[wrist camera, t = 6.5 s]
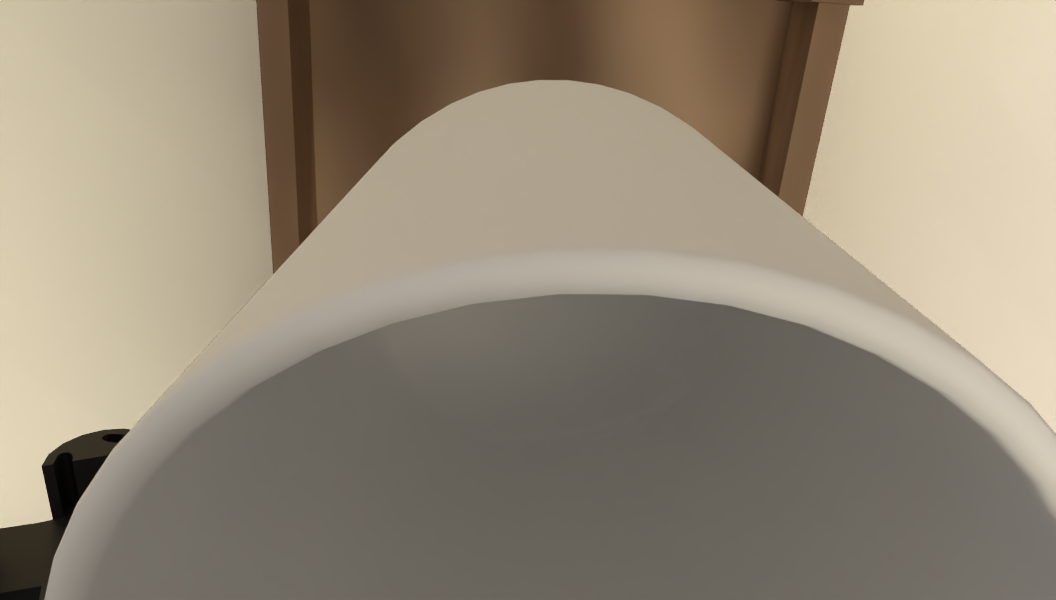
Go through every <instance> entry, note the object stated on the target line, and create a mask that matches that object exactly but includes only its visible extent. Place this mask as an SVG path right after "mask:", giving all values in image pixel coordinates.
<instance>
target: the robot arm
mask: <svg viewBox="0 0 1056 600" xmlns="http://www.w3.org/2000/svg"><path fill="white" fill-rule="evenodd" d="M129 431H130V430H129V429H112V430H102V431H97V432H93V433H89V434H85V435H82V436H79V437H77V438H75V439H72V440H70V441H68V442H66V443H63V444H62V445H61V446H59V447H58V448H57V449H55V450H54V451H53V452H51V453H50V454H49V455H48V456H47V458H46V460H45V461H44V463H43V465H42V470H43V475H44V479H45V484H46V489H47V493H48V498H49V503H50V507H51V512H52V517H53V520H50V521H45V522H40V523H35V524H28V525H21V526H15V527H8V528H1V529H0V600H44V599H45V594H46V590H47V585H48V581H49V576H50V572H51V567H52V563H53V558H54V556H55V553H56V551H57V549H58V546H59V544H60V542H61V540H62V537H63V535H64V533H65V530H66V528H67V526H68V523H69V521H70V519H71V516H72V514H73V512H74V509H75V507H76V505H77V503H78V501H79V500H80V498H81V496H82V495H83V493H84V492H85V490H86V489H87V487H88V486H89V484H90V483H91V481H92V480H93V478H94V477H95V475H96V474H97V472H98V471H99V469H100V468H101V466H102V465H103V463H104V462H105V460H106V459H107V457H108V456H109V454H110V453H111V451H112V450H113V448H114V447H115V446H116V445H117V444H118V443H119V442H120V441H121V440H122V439H123V437H124V436H125V435H126V434H127V433H128V432H129Z"/></svg>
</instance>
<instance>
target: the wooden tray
mask: <svg viewBox="0 0 1056 600" xmlns="http://www.w3.org/2000/svg"><path fill="white" fill-rule="evenodd" d="M256 2H257V19H258V35H259V51H260V67H261V83H262V99H263V115H264V131H265V148H266V164H267V180H268V196H269V212H270V228H271V244H272V261H273V274H274V273H275V272H276V271H277V270H278V269H279V268H280V267H281V265H282V264H283V263H284V262H285V261H286V260H287V259H288V258H289V257H290V256H291V255H292V254H293V252H294V251H295V250H296V249H297V248H298V247H299V246H300V245H301V244H302V243H303V242H304V240H305V239H306V238H307V237H308V236H309V235H310V234H311V233H312V232H313V231H314V230H315V228H316V227H317V226H318V225H319V224H320V223H321V222H322V221H323V220H324V219H325V218H326V217H327V215H328V214H329V213H330V212H331V211H332V210H333V209H334V208H335V207H336V206H337V205H338V203H339V202H340V201H341V200H342V199H343V198H344V197H345V196H346V195H347V194H348V193H349V191H350V190H351V189H352V188H353V187H354V186H355V185H356V184H357V183H358V182H359V181H360V180H361V178H362V177H363V176H364V175H365V174H366V173H367V172H368V171H369V170H370V169H371V168H372V166H373V165H374V164H375V163H376V162H377V161H378V160H379V159H380V158H381V157H382V156H383V155H384V154H385V153H386V152H387V150H388V149H389V148H390V147H391V146H392V145H393V144H394V143H395V142H396V141H397V140H399V139H400V138H401V137H402V136H404V135H405V134H406V133H407V132H409V131H410V130H411V129H412V128H414V127H415V126H416V125H417V124H419V123H420V122H421V121H423V120H425V119H426V118H428V117H430V116H431V115H433V114H435V113H436V112H438V111H440V110H441V109H443V108H445V107H446V106H448V105H450V104H452V103H454V102H456V101H459V100H461V99H463V98H466V97H468V96H470V95H473V94H475V93H477V92H480V91H484V90H488V89H491V88H495V87H499V86H502V85H506V84H511V83H519V82H527V81H535V80H571V81H578V82H585V83H592V84H599V85H603V86H606V87H610V88H613V89H617V90H620V91H624V92H627V93H630V94H633V95H635V96H637V97H639V98H641V99H644V100H646V101H648V102H650V103H653V104H655V105H657V106H659V107H661V108H663V109H665V110H666V111H668V112H669V113H671V114H673V115H674V116H676V117H677V118H679V119H680V120H682V121H684V122H685V123H687V124H688V125H690V126H691V127H693V128H694V129H695V130H696V131H698V132H699V133H700V134H701V135H703V136H704V137H705V138H706V139H707V140H709V141H710V142H711V143H712V144H714V145H715V146H716V147H717V148H719V149H720V150H721V151H722V152H723V153H725V154H726V155H727V156H728V157H730V158H731V159H732V160H733V161H735V162H736V163H737V164H738V165H739V166H741V167H742V168H743V169H744V170H746V171H747V172H748V173H749V174H751V175H752V176H753V177H754V178H755V179H757V180H758V181H759V182H760V183H762V184H763V185H764V186H765V187H767V188H768V189H769V190H770V191H771V192H773V193H774V194H775V195H776V196H778V197H779V198H780V199H781V200H783V201H784V202H785V203H786V204H787V205H789V206H790V207H791V208H792V209H794V210H795V211H796V212H797V213H799V214H800V215H801V216H803V211H804V207H805V203H806V198H807V194H808V189H809V185H810V180H811V176H812V171H813V167H814V162H815V158H816V153H817V149H818V145H819V140H820V136H821V131H822V127H823V122H824V118H825V113H826V109H827V104H828V100H829V95H830V91H831V87H832V82H833V78H834V73H835V69H836V64H837V60H838V55H839V51H840V46H841V42H842V37H843V33H844V29H845V24H846V20H847V15H848V11H849V6H850V5H863V3H864V0H256Z"/></svg>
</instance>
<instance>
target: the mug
mask: <svg viewBox="0 0 1056 600" xmlns="http://www.w3.org/2000/svg"><path fill="white" fill-rule="evenodd" d="M44 600H1056V434H1055V432H1054V431H1053V430H1052V429H1051V428H1050V427H1049V425H1048V424H1047V423H1046V422H1045V421H1044V419H1043V418H1042V417H1041V416H1040V415H1039V413H1038V412H1037V411H1036V410H1035V409H1034V407H1033V406H1032V405H1031V404H1030V403H1029V402H1028V401H1027V400H1025V399H1024V398H1023V397H1022V396H1021V395H1020V394H1018V393H1017V392H1016V391H1015V390H1014V389H1012V388H1011V387H1010V386H1009V385H1008V384H1007V383H1005V382H1004V381H1003V380H1002V379H1001V378H999V377H998V376H997V375H996V374H995V373H994V372H992V371H991V370H990V369H989V368H988V367H986V366H985V365H984V364H983V363H982V362H981V361H979V360H978V359H977V358H976V357H975V356H973V355H972V354H971V353H970V352H969V351H967V350H966V349H965V348H964V347H962V346H961V345H960V344H959V343H957V342H956V341H955V340H954V339H953V338H951V337H950V336H949V335H948V334H946V333H945V332H944V331H943V330H941V329H940V328H939V327H938V326H937V325H935V324H934V323H933V322H932V321H930V320H929V319H928V318H927V317H925V316H924V315H923V314H922V313H920V312H919V311H918V310H917V309H916V308H914V307H913V306H912V305H911V304H909V303H908V302H907V301H906V300H904V299H903V298H902V297H901V296H900V295H898V294H897V293H896V292H895V291H893V290H892V289H891V288H890V287H888V286H887V285H886V284H885V283H884V282H882V281H881V280H880V279H879V278H877V277H876V276H875V275H874V274H872V273H871V272H870V271H869V270H868V269H866V268H865V267H864V266H863V265H861V264H860V263H859V262H858V261H856V260H855V259H854V258H853V257H852V256H850V255H849V254H848V253H847V252H845V251H844V250H843V249H842V248H840V247H839V246H838V245H837V244H836V243H834V242H833V241H832V240H831V239H829V238H828V237H827V236H826V235H824V234H823V233H822V232H821V231H820V230H818V229H817V228H816V227H815V226H813V225H812V224H811V223H810V222H808V221H807V220H806V219H805V218H803V217H802V216H801V215H800V214H799V213H797V212H796V211H795V210H794V209H792V208H791V207H790V206H789V205H787V204H786V203H785V202H784V201H783V200H781V199H780V198H779V197H778V196H776V195H775V194H774V193H773V192H771V191H770V190H769V189H768V188H767V187H765V186H764V185H763V184H762V183H760V182H759V181H758V180H757V179H755V178H754V177H753V176H752V175H751V174H749V173H748V172H747V171H746V170H744V169H743V168H742V167H741V166H739V165H738V164H737V163H736V162H735V161H733V160H732V159H731V158H730V157H728V156H727V155H726V154H725V153H723V152H722V151H721V150H720V149H719V148H717V147H716V146H715V145H714V144H712V143H711V142H710V141H709V140H707V139H706V138H705V137H704V136H703V135H701V134H700V133H699V132H698V131H696V130H695V129H694V128H693V127H691V126H690V125H688V124H687V123H685V122H684V121H682V120H680V119H679V118H677V117H676V116H674V115H673V114H671V113H669V112H668V111H666V110H665V109H663V108H661V107H659V106H657V105H655V104H653V103H650V102H648V101H646V100H644V99H641V98H639V97H637V96H635V95H633V94H630V93H627V92H624V91H620V90H617V89H613V88H610V87H606V86H603V85H599V84H592V83H585V82H578V81H571V80H535V81H527V82H519V83H511V84H506V85H502V86H499V87H495V88H491V89H488V90H484V91H480V92H477V93H475V94H473V95H470V96H468V97H466V98H463V99H461V100H459V101H456V102H454V103H452V104H450V105H448V106H446V107H445V108H443V109H441V110H440V111H438V112H436V113H435V114H433V115H431V116H430V117H428V118H426V119H425V120H423V121H421V122H420V123H419V124H417V125H416V126H415V127H414V128H412V129H411V130H410V131H409V132H407V133H406V134H405V135H404V136H402V137H401V138H400V139H399V140H397V141H396V142H395V143H394V144H393V145H392V146H391V147H390V148H389V149H388V150H387V152H386V153H385V154H384V155H383V156H382V157H381V158H380V159H379V160H378V161H377V162H376V163H375V164H374V165H373V166H372V168H371V169H370V170H369V171H368V172H367V173H366V174H365V175H364V176H363V177H362V178H361V180H360V181H359V182H358V183H357V184H356V185H355V186H354V187H353V188H352V189H351V190H350V191H349V193H348V194H347V195H346V196H345V197H344V198H343V199H342V200H341V201H340V202H339V203H338V205H337V206H336V207H335V208H334V209H333V210H332V211H331V212H330V213H329V214H328V215H327V217H326V218H325V219H324V220H323V221H322V222H321V223H320V224H319V225H318V226H317V227H316V228H315V230H314V231H313V232H312V233H311V234H310V235H309V236H308V237H307V238H306V239H305V240H304V242H303V243H302V244H301V245H300V246H299V247H298V248H297V249H296V250H295V251H294V252H293V254H292V255H291V256H290V257H289V258H288V259H287V260H286V261H285V262H284V263H283V264H282V265H281V267H280V268H279V269H278V270H277V271H276V272H275V273H274V274H273V275H272V276H271V277H270V279H269V280H268V281H267V282H266V283H265V284H264V285H263V286H262V287H261V288H260V289H259V291H258V292H257V293H256V294H255V295H254V296H253V297H252V298H251V299H250V300H249V301H248V302H247V304H246V305H245V306H244V307H243V308H242V309H241V310H240V311H239V312H238V313H237V314H236V316H235V317H234V318H233V319H232V320H231V321H230V322H229V323H228V324H227V325H226V326H225V328H224V329H223V330H222V331H221V332H220V333H219V334H218V335H217V336H216V337H215V338H214V340H213V341H212V342H211V343H210V344H209V345H208V346H207V347H206V348H205V349H204V350H203V351H202V353H201V354H200V355H199V356H198V357H197V358H196V359H195V360H194V361H193V362H192V363H191V365H190V366H189V367H188V368H187V369H186V370H185V371H184V372H183V373H182V374H181V375H180V377H179V378H178V379H177V380H176V381H175V382H174V383H173V384H172V385H171V386H170V387H169V388H168V390H167V391H166V392H165V393H164V394H163V395H162V396H161V397H160V398H159V399H158V400H157V402H156V403H155V404H154V405H153V406H152V407H151V408H150V409H149V410H148V411H147V412H146V414H145V415H144V416H143V417H142V418H141V419H140V420H139V421H138V422H137V423H136V424H135V425H134V427H133V428H132V429H131V430H130V431H129V432H128V433H127V434H126V435H125V436H124V437H123V439H122V440H121V441H120V442H119V443H118V444H117V445H116V446H115V447H114V448H113V450H112V451H111V453H110V454H109V456H108V457H107V459H106V460H105V462H104V463H103V465H102V466H101V468H100V469H99V471H98V472H97V474H96V475H95V477H94V478H93V480H92V481H91V483H90V484H89V486H88V487H87V489H86V490H85V492H84V493H83V495H82V496H81V498H80V500H79V501H78V503H77V505H76V507H75V509H74V512H73V514H72V516H71V519H70V521H69V523H68V526H67V528H66V530H65V533H64V535H63V537H62V540H61V542H60V544H59V546H58V549H57V551H56V553H55V556H54V558H53V563H52V567H51V572H50V576H49V581H48V585H47V590H46V594H45V599H44Z"/></svg>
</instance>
